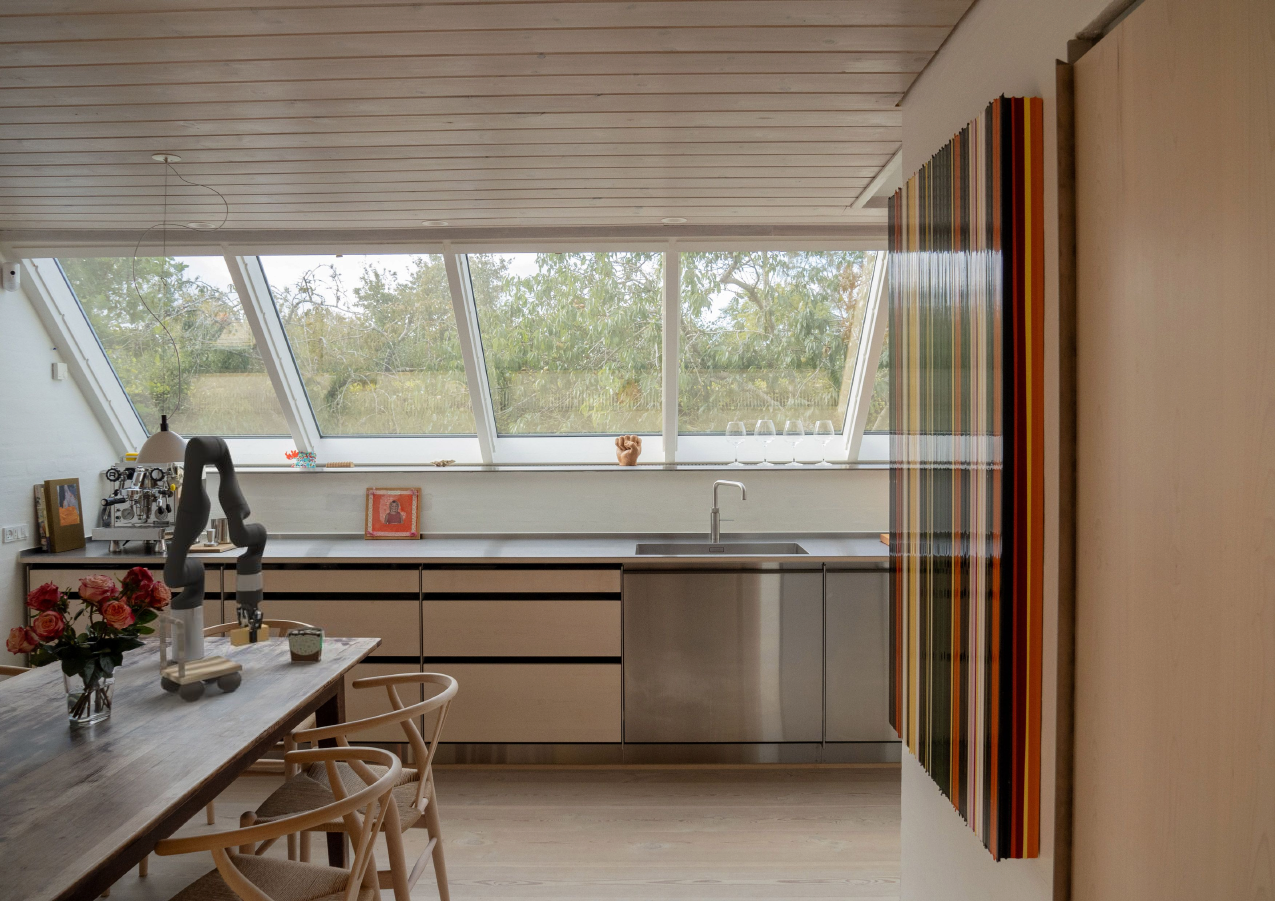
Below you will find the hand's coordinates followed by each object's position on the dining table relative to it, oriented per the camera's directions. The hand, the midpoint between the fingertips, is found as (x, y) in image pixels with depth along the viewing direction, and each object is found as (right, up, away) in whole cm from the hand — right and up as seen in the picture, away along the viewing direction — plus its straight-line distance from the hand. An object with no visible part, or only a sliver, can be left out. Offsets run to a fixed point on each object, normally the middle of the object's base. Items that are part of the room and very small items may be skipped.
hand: (250, 640), depth 244 cm
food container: (+15, -8, +9) cm, 19 cm away
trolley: (-3, -9, -22) cm, 24 cm away
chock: (0, 0, 0) cm, 0 cm away
